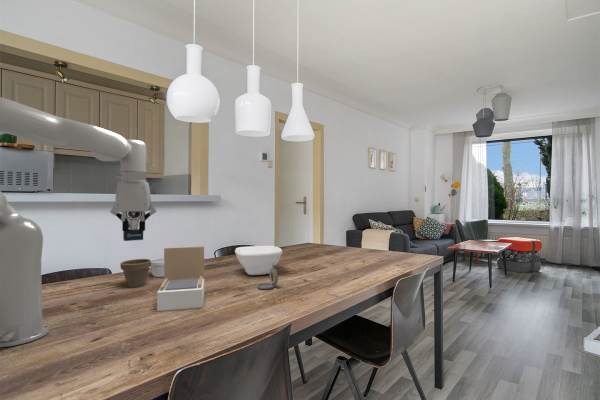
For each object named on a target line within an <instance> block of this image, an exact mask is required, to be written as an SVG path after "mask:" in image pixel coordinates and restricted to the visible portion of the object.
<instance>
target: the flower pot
mask: <svg viewBox="0 0 600 400" xmlns="http://www.w3.org/2000/svg"><path fill="white" fill-rule="evenodd" d="M151 260H152V259H148V258H137V259H136V258H135V259H130V260H125V261H121V262H120V265H119V266H120V270H122V272H123V274H124V278H125V281H126V284H127V287H129V288H139V287H143V286H144V285H146V283H147V278H148V274H149V269H150V268H151Z"/></svg>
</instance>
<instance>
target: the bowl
mask: <svg viewBox="0 0 600 400" xmlns="http://www.w3.org/2000/svg"><path fill="white" fill-rule="evenodd" d="M283 252H284V251H283V249H282V248H281V247H278V246H276V245H252V246H251V245H250V246H240V247H237V248H235V250H234V253H235V256H236V257H237V260H238V262H239V264H240V265H242V267H243V269H244V271H245V273H246V274H247V275H249V276H250V275H251V276H255V275H256V276H257V275H259V276H261V275H266V274H267V275H268V274H269V275H270V270H271V268H273V267H272V263H273V262H275V263H273V264H274V265H275V266H276V265H277V264H278V263H279V261H280V259H281V256H282V254H283Z"/></svg>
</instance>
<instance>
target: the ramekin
mask: <svg viewBox="0 0 600 400" xmlns="http://www.w3.org/2000/svg"><path fill="white" fill-rule="evenodd" d="M150 260H151V266H150V272H151V275H152V276H153V277H156V278H164V257H161V258H154V259H150Z"/></svg>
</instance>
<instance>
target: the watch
mask: <svg viewBox="0 0 600 400" xmlns="http://www.w3.org/2000/svg"><path fill="white" fill-rule="evenodd" d="M142 216H144V213H142V212H129V211H126V218H127V220H128V222H129V231H128V230H127V231H123V230H122V232H123V233H122V236H123V237H122V239H123V242H129V241H130V242H131V241H143V240H144V231H143V230H142V233H139V223H140V220H141V217H142Z"/></svg>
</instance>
